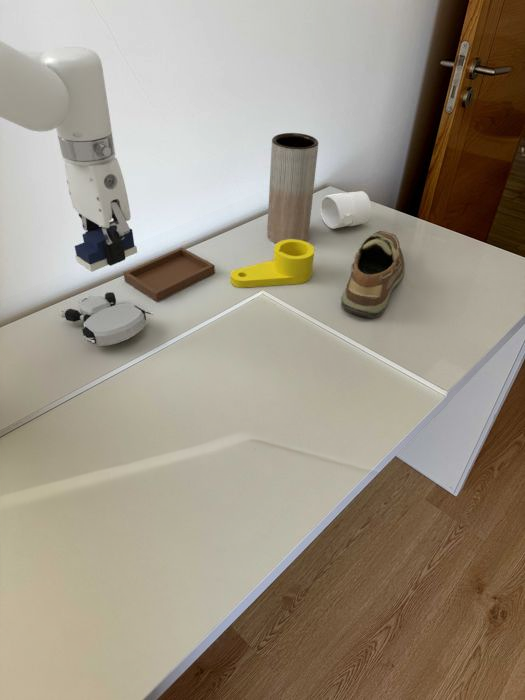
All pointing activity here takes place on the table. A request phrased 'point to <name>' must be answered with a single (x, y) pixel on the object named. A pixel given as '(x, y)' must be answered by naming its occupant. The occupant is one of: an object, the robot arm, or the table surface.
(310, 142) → the planter
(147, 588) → the table surface
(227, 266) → the table surface
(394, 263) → the boat shoe
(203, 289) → the table surface
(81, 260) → the navy stepped block
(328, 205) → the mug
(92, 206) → the robot arm
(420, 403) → the table surface
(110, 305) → the robot toy
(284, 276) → the crank
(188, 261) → the tray
